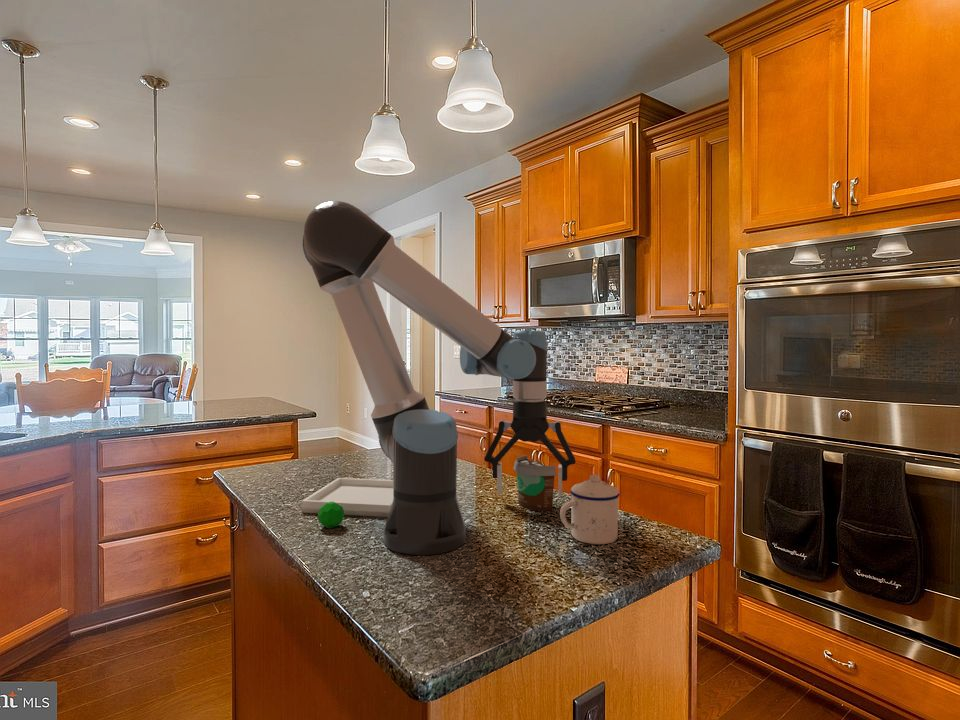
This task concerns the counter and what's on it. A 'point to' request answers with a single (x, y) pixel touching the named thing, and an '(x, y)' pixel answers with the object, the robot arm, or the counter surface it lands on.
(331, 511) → the polyhedron
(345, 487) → the tray
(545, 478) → the food container
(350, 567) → the counter surface
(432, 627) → the counter surface
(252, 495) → the counter surface
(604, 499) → the teacup with lid
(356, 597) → the counter surface
